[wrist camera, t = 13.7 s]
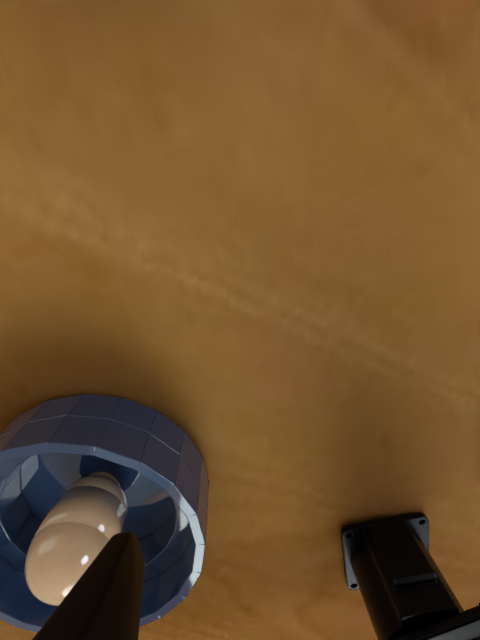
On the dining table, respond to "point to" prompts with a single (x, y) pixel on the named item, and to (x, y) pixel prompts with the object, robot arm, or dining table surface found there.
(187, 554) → the bowl
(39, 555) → the beige rounded peg
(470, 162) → the dining table surface
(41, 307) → the dining table surface
